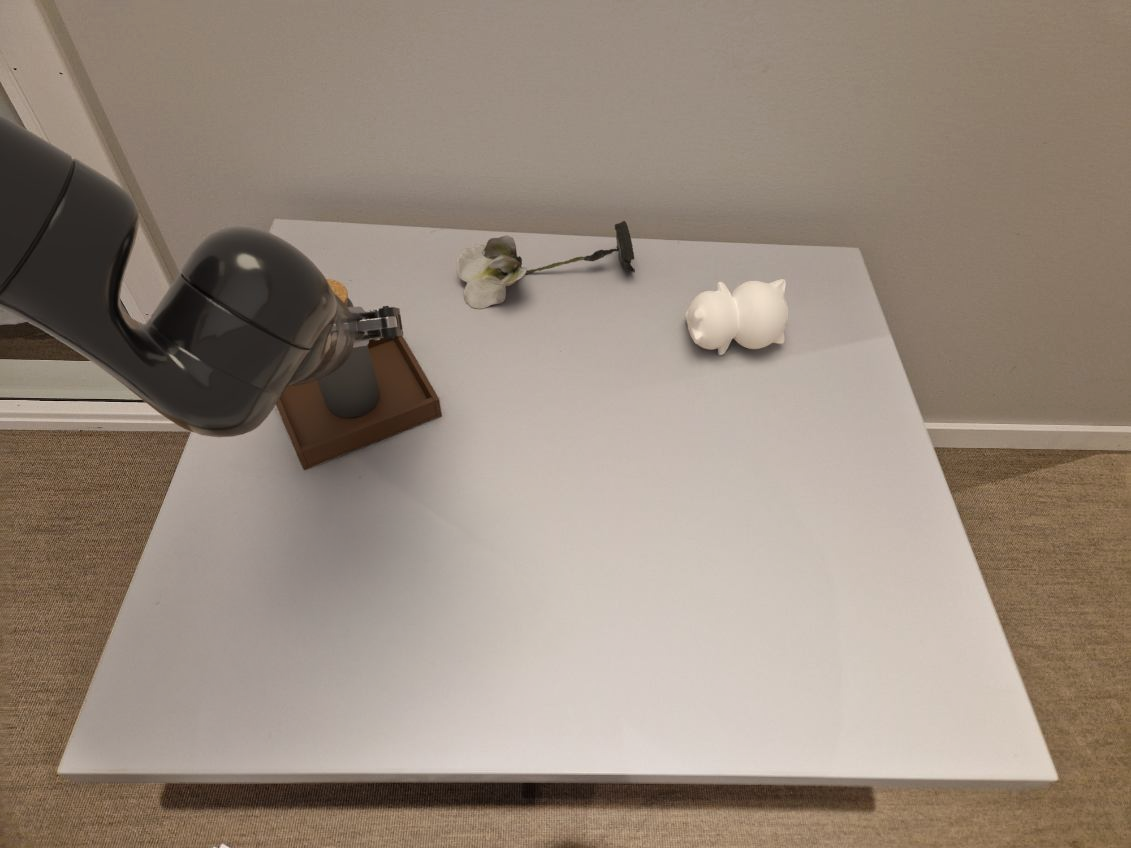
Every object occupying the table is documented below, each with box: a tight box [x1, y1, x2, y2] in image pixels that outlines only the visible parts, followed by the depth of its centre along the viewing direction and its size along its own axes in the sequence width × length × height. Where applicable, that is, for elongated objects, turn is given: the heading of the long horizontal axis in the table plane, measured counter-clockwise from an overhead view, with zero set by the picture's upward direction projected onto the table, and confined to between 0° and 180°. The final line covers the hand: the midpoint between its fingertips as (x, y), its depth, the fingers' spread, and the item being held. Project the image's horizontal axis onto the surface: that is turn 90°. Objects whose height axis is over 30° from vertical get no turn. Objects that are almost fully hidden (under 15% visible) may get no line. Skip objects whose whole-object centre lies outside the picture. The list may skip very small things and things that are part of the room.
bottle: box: [317, 278, 379, 418], centre depth 73 cm, size 6×6×15 cm
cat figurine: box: [684, 278, 789, 356], centre depth 86 cm, size 9×11×12 cm
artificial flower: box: [455, 220, 636, 310], centre depth 90 cm, size 9×22×10 cm, turn 102°
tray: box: [275, 332, 443, 471], centre depth 79 cm, size 15×13×3 cm
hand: (327, 331), depth 69 cm, fingers open, 8 cm apart
